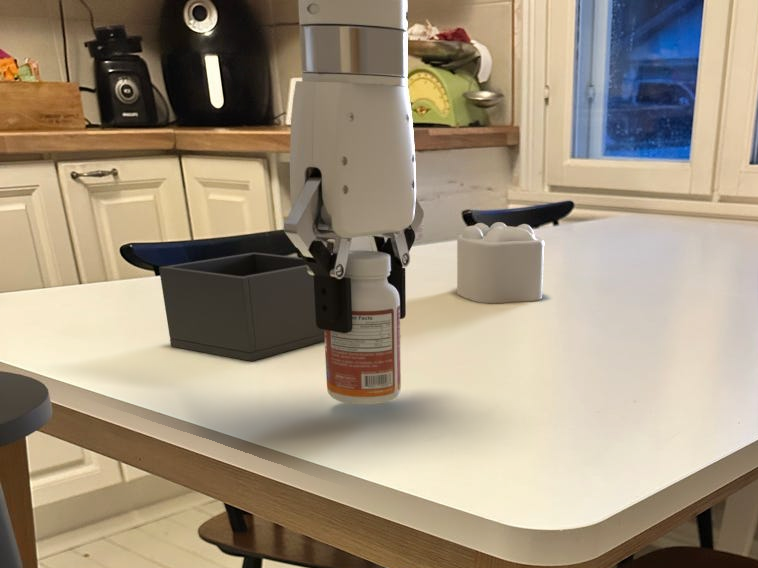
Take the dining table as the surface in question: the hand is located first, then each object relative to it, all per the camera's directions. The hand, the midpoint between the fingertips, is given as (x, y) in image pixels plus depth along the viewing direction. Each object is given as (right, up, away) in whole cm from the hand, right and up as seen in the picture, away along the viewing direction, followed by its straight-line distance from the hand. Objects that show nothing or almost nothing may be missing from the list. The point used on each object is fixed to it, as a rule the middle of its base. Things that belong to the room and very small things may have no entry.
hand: (362, 321), depth 74 cm
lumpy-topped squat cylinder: (+12, +22, +52) cm, 57 cm away
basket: (-15, +6, +25) cm, 30 cm away
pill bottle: (0, -5, +3) cm, 6 cm away
